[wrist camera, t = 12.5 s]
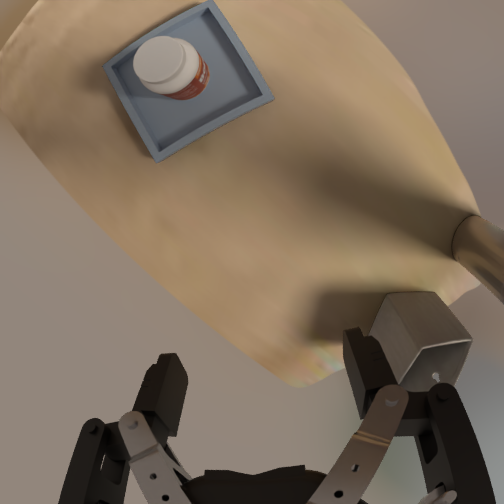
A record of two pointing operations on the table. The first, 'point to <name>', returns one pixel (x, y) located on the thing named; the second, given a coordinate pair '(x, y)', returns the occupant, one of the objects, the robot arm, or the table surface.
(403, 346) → the planter
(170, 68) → the pill bottle
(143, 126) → the tray
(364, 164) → the table surface
